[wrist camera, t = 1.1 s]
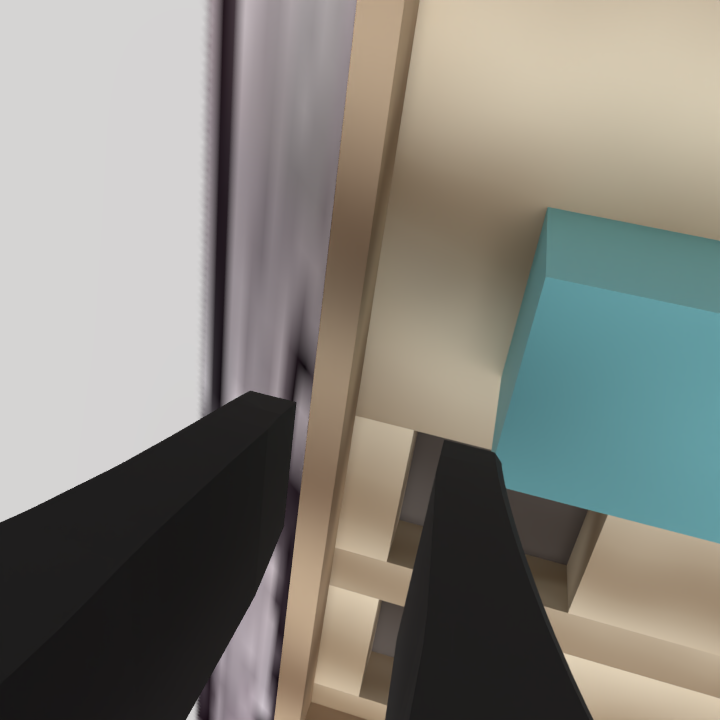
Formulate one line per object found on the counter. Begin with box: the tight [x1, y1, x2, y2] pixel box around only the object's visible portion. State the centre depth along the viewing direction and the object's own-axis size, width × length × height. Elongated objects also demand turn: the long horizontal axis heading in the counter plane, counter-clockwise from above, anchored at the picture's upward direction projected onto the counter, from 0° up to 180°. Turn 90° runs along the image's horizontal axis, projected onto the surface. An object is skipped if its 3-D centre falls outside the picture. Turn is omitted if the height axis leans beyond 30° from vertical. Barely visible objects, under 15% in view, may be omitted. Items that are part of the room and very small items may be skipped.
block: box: [491, 207, 720, 544], centre depth 13 cm, size 4×4×4 cm
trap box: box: [274, 0, 720, 720], centre depth 17 cm, size 24×14×4 cm, turn 173°
